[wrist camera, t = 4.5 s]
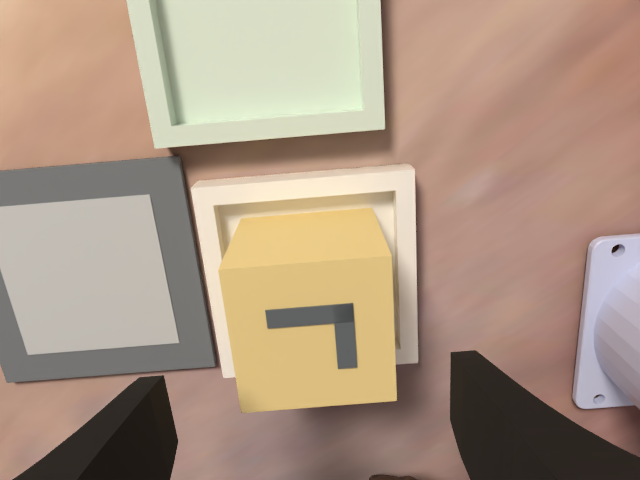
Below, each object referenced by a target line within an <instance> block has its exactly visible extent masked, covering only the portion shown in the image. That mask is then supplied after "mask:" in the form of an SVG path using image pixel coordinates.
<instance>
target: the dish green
mask: <svg viewBox="0 0 640 480" xmlns="http://www.w3.org/2000/svg"><path fill="white" fill-rule="evenodd" d="M126 1H127V6H128V11H129V17H130V22H131V27H132V32H133V37H134V43H135V48H136V53H137V58H138V64H139V69H140V74H141V79H142V84H143V90H144V95H145V100H146V105H147V111H148V116H149V121H150V126H151V131H152V137H153V142H154V147H155V149H156V148H168V147H179V146H191V145H203V144H215V143H227V142H239V141H251V140H263V139H275V138H287V137H298V136H310V135H322V134H334V133H346V132H358V131H370V130H382V129H385V111H384V83H383V56H382V28H381V1H380V0H126Z"/></svg>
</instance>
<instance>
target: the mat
mask: <svg viewBox="0 0 640 480" xmlns="http://www.w3.org/2000/svg"><path fill="white" fill-rule="evenodd" d="M0 364H1V367H2V370H3V373H4V376H5V379H6V382H7V383H11V382H23V381H36V380H49V379H62V378H74V377H87V376H100V375H112V374H125V373H138V372H151V371H163V370H176V369H189V368H202V367H214V366H216V357H215V351H214V346H213V340H212V334H211V328H210V323H209V317H208V311H207V306H206V300H205V294H204V289H203V283H202V277H201V271H200V266H199V260H198V254H197V249H196V243H195V237H194V232H193V226H192V220H191V214H190V209H189V203H188V197H187V192H186V186H185V180H184V174H183V169H182V163H181V157H180V156H169V157H157V158H145V159H133V160H122V161H110V162H98V163H86V164H74V165H62V166H50V167H38V168H26V169H14V170H2V171H0Z"/></svg>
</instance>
